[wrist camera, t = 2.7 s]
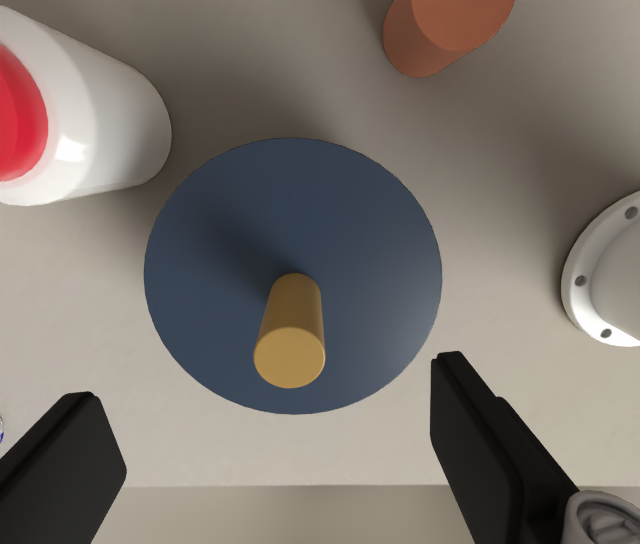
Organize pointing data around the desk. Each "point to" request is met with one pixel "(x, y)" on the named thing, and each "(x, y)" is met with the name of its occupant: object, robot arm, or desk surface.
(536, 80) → the desk surface
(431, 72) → the candle
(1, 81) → the pill bottle
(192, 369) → the lid
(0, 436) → the beverage can
